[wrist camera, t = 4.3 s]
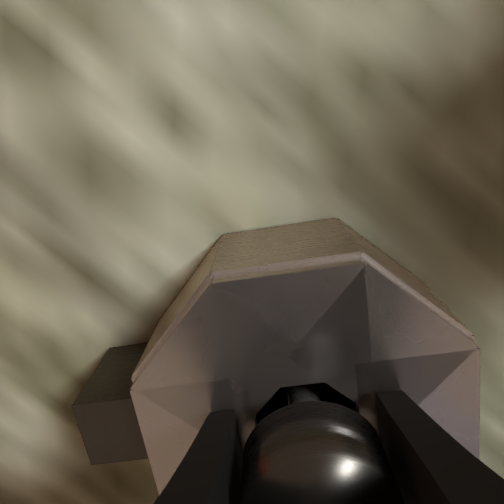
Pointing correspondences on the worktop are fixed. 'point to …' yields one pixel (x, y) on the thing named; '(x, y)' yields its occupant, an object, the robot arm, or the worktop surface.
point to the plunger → (316, 456)
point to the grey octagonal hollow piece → (281, 345)
